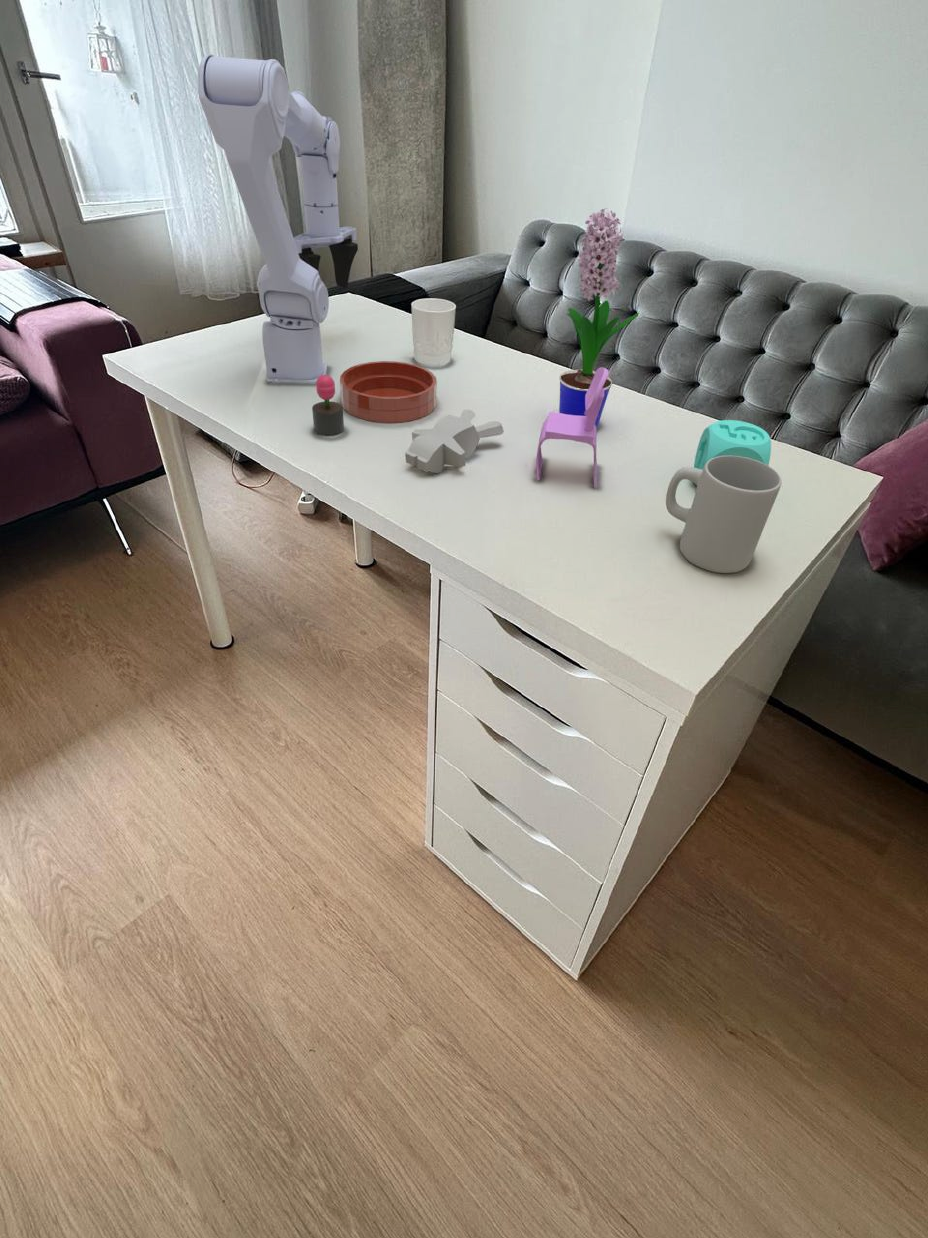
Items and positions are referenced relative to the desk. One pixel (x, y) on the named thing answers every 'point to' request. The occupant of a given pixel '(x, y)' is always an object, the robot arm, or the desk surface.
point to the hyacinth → (596, 332)
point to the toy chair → (576, 422)
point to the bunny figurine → (448, 442)
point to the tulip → (327, 409)
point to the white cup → (433, 330)
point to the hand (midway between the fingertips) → (327, 290)
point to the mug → (724, 511)
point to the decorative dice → (733, 442)
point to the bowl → (388, 391)
